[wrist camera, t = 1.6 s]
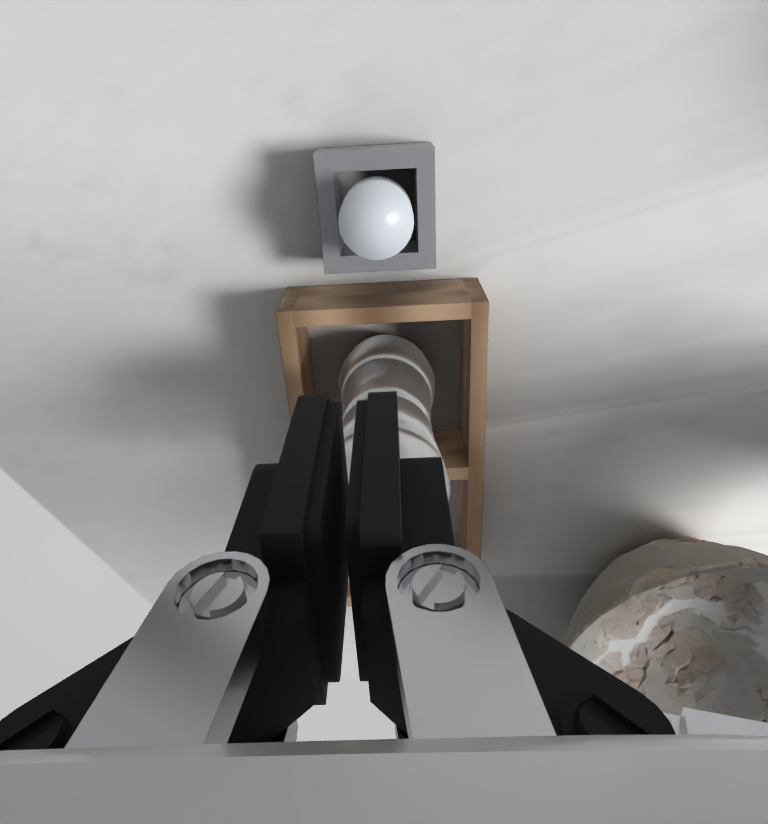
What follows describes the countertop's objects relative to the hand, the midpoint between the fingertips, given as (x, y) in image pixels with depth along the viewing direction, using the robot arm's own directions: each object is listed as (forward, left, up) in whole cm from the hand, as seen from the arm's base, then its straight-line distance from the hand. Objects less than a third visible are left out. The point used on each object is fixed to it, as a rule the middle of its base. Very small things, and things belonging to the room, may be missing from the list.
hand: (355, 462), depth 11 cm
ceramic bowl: (-22, +33, -29) cm, 49 cm away
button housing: (0, 0, -29) cm, 29 cm away
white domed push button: (0, 0, -26) cm, 26 cm away
